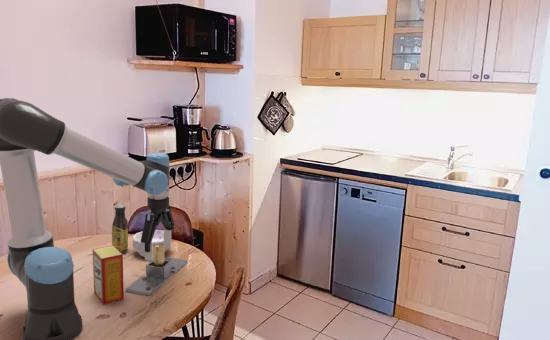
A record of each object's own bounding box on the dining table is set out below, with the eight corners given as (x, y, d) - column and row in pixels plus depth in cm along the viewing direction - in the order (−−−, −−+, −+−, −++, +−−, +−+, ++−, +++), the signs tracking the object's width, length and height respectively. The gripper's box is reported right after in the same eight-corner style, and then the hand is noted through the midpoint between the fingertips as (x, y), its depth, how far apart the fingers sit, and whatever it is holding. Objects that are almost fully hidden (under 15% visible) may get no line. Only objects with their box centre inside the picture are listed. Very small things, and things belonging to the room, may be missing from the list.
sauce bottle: (109, 252, 181) (107, 205, 177) (121, 247, 186) (120, 202, 182) (118, 256, 178) (117, 209, 174) (131, 251, 183) (130, 205, 179)
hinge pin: (161, 279, 159) (161, 248, 157) (151, 277, 160) (150, 246, 158) (166, 274, 163) (166, 244, 161) (156, 273, 164) (156, 242, 162)
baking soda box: (94, 293, 147) (92, 248, 144) (113, 288, 151) (112, 244, 148) (103, 304, 140) (101, 257, 137) (123, 299, 144) (122, 253, 141)
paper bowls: (135, 263, 172) (135, 243, 170) (131, 249, 186) (130, 231, 184) (174, 258, 178) (174, 239, 177) (167, 245, 192) (167, 227, 190)
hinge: (149, 295, 147) (149, 282, 146) (125, 291, 149) (125, 278, 148) (187, 262, 175) (187, 250, 174) (166, 259, 177) (166, 247, 176)
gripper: (149, 207, 143) (150, 267, 147) (183, 190, 167) (183, 242, 171) (129, 204, 145) (130, 264, 149) (165, 187, 168) (165, 240, 173)
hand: (158, 252), depth 160 cm, fingers open, 13 cm apart
